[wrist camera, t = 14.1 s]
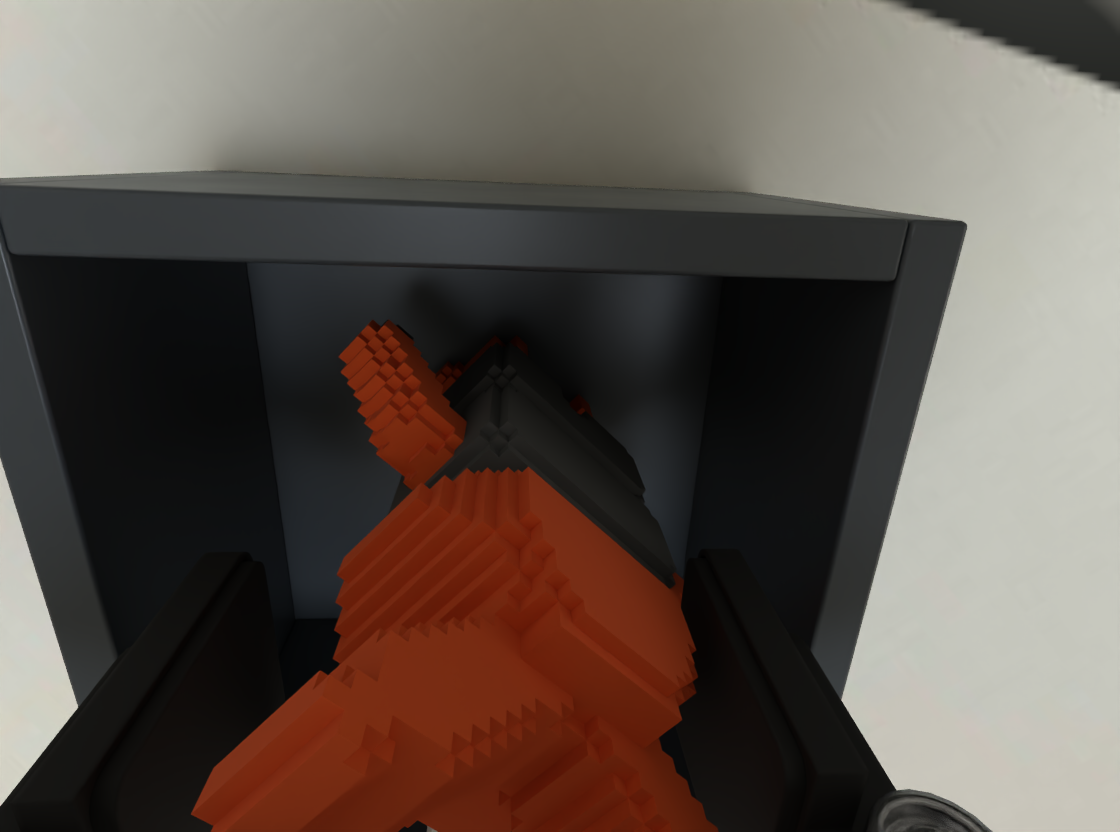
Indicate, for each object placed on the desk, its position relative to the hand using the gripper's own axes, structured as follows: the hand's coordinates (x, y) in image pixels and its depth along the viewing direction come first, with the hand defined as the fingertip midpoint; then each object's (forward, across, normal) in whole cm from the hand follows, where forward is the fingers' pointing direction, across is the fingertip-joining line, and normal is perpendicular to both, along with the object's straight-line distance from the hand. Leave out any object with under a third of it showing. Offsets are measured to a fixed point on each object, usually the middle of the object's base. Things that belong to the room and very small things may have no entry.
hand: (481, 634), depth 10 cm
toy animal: (+7, 0, 0) cm, 7 cm away
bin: (+8, 0, 0) cm, 8 cm away
